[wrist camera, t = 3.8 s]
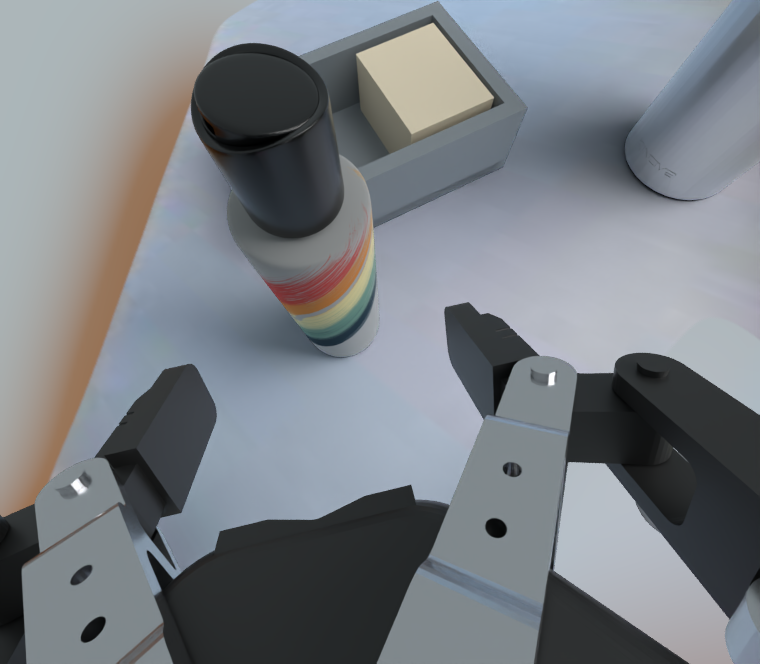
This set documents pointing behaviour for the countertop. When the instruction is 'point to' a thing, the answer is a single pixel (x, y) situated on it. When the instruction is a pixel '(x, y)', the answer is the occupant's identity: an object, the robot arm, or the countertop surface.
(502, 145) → the tote
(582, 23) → the countertop surface
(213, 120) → the lotion bottle
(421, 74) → the plain beige carton
